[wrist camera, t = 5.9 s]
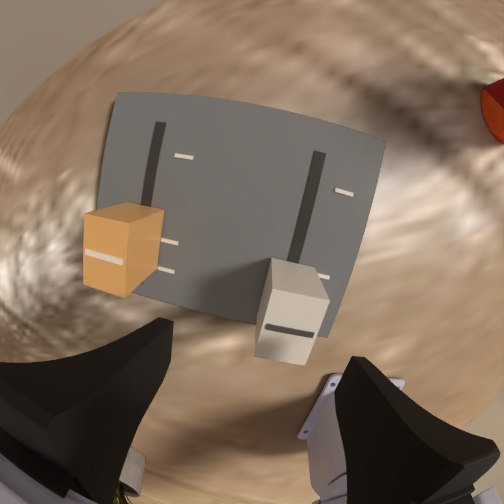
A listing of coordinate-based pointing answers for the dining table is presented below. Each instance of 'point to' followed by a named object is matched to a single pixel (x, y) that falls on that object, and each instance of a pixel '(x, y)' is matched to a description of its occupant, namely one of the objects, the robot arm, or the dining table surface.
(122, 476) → the house plant
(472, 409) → the dining table surface
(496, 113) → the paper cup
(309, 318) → the grey fader
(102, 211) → the orange fader
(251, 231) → the console
